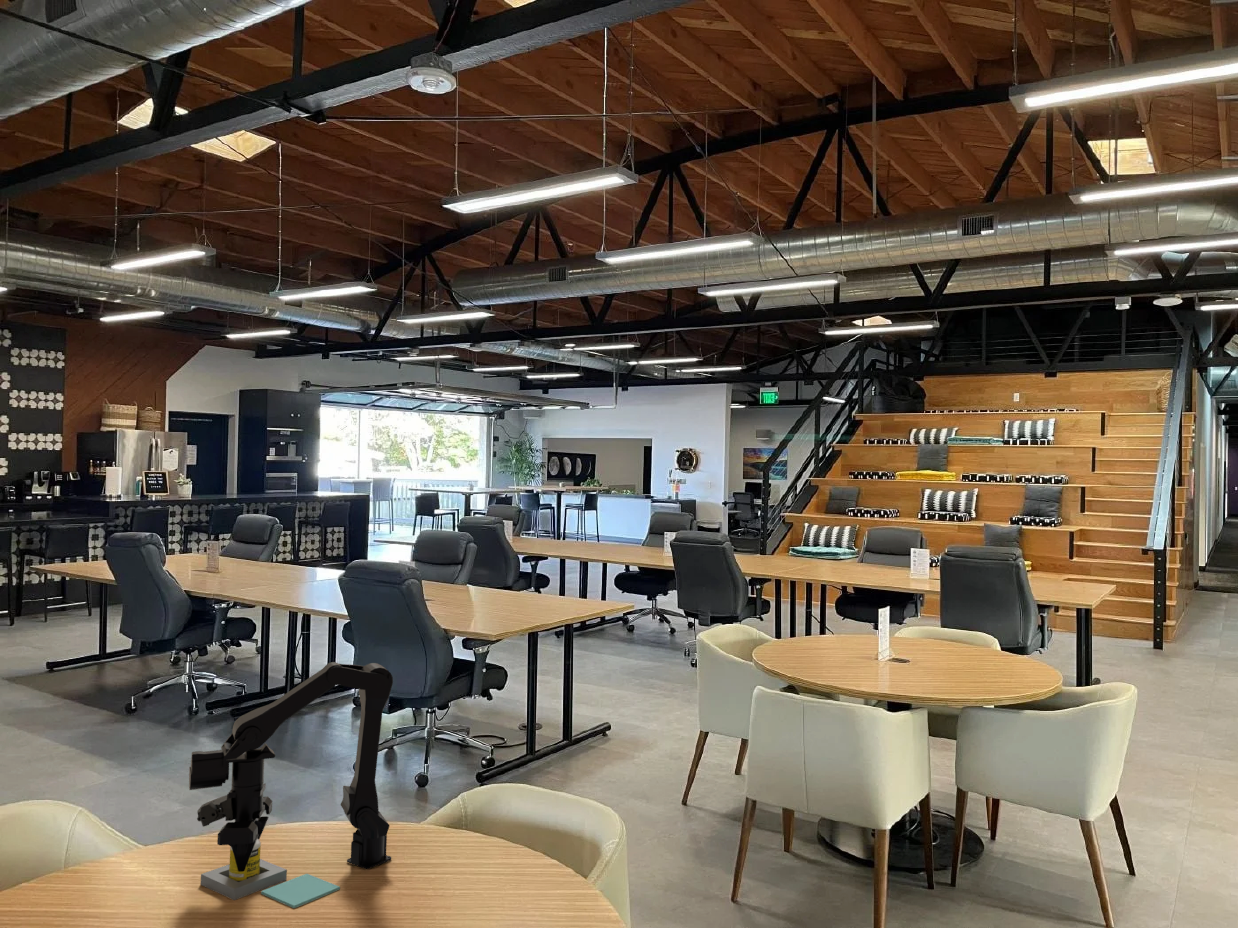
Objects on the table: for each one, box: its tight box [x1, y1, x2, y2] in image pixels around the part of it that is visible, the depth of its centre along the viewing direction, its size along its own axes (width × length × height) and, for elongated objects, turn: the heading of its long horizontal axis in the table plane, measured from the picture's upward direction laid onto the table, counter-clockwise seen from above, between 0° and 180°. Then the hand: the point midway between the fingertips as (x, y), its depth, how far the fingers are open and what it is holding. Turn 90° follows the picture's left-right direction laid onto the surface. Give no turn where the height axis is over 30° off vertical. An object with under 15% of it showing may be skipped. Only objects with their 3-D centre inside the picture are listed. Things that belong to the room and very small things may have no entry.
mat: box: [260, 873, 341, 909], centre depth 167 cm, size 10×10×1 cm
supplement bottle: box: [228, 829, 262, 882], centre depth 171 cm, size 5×5×10 cm
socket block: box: [200, 858, 288, 901], centre depth 171 cm, size 11×11×2 cm
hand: (244, 864), depth 171 cm, fingers closed on supplement bottle, 5 cm apart
